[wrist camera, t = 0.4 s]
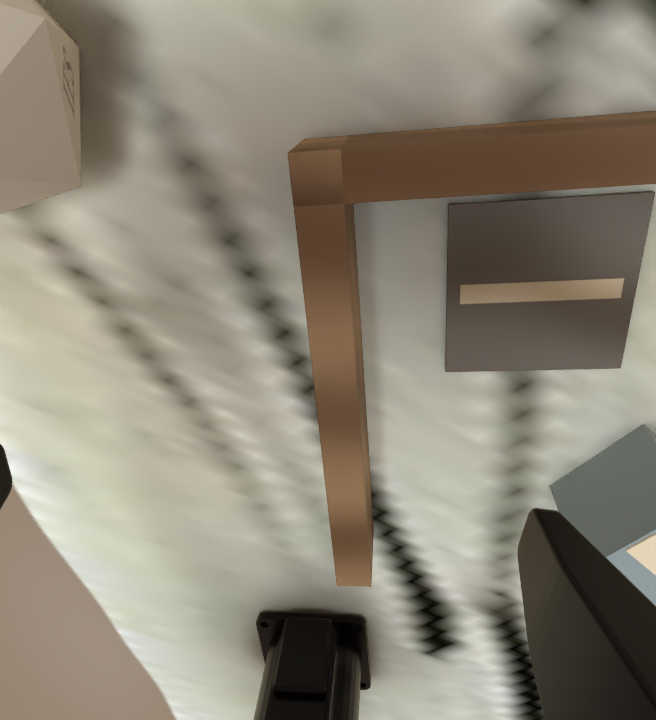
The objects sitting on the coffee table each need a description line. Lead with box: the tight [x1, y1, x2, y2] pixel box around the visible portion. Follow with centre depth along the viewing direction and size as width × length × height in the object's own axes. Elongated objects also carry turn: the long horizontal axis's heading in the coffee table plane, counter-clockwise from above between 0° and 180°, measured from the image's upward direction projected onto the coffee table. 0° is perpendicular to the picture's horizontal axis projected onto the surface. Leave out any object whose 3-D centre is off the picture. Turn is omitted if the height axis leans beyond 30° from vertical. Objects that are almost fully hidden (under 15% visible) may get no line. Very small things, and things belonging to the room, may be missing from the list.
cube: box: [550, 424, 656, 605], centre depth 23 cm, size 5×5×5 cm
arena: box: [288, 111, 656, 587], centre depth 21 cm, size 19×19×4 cm
